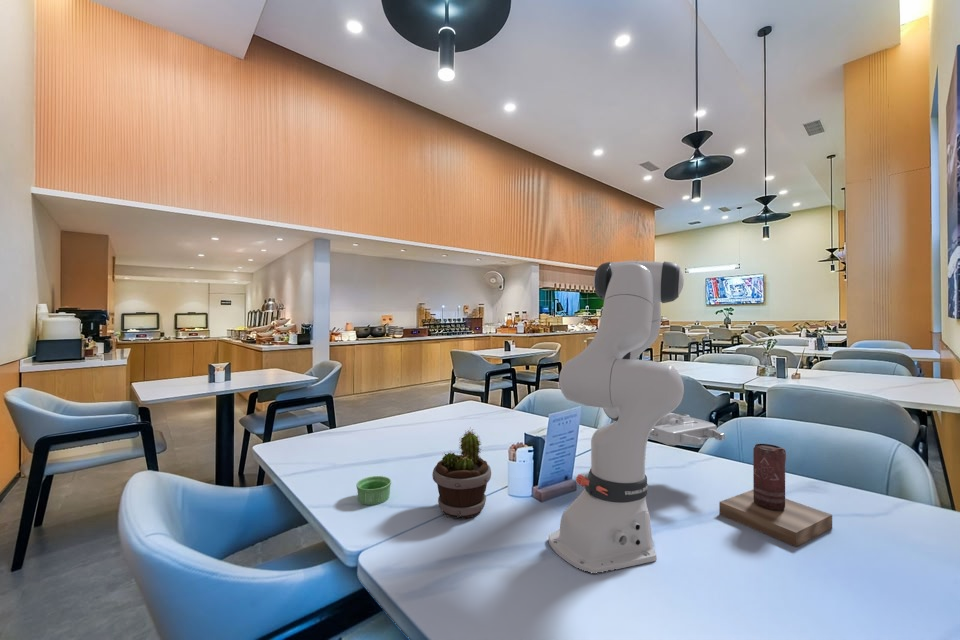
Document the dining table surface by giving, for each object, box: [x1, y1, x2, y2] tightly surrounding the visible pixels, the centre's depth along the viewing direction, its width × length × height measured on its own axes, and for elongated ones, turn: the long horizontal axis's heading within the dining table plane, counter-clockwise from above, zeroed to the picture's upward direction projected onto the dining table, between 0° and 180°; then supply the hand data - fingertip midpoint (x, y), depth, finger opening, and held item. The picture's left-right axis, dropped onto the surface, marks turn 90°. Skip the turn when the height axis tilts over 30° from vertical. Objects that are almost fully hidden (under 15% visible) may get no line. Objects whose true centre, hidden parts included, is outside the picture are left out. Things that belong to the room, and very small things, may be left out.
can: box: [752, 443, 787, 511], centre depth 95 cm, size 6×6×14 cm
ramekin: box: [356, 475, 392, 506], centre depth 107 cm, size 9×9×4 cm
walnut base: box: [718, 489, 833, 548], centre depth 94 cm, size 16×16×3 cm
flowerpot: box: [431, 426, 492, 520], centre depth 100 cm, size 14×15×20 cm
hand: (712, 439), depth 106 cm, fingers open, 8 cm apart
